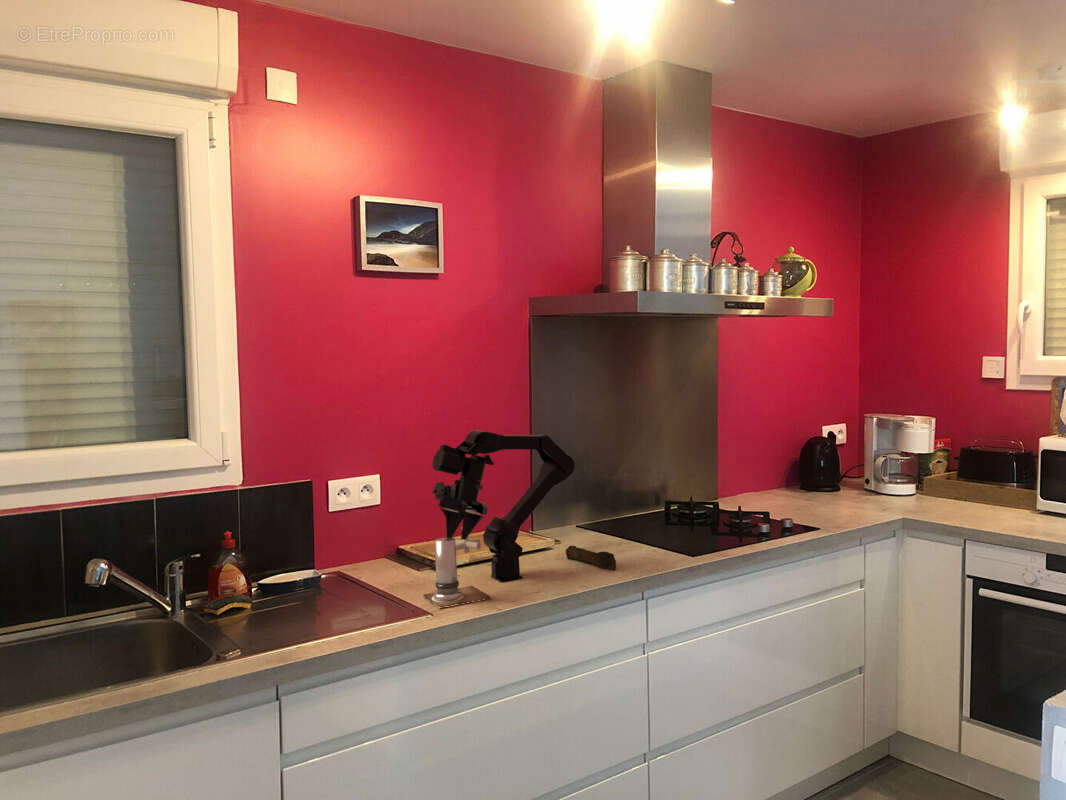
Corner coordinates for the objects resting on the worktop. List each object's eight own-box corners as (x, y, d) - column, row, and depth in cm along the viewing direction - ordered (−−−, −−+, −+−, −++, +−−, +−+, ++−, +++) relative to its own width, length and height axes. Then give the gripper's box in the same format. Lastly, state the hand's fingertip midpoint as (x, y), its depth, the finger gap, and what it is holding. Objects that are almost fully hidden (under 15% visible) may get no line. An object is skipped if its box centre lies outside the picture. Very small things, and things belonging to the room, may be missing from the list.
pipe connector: (466, 555, 251) (464, 521, 250) (491, 560, 244) (489, 525, 244) (441, 563, 243) (439, 528, 242) (467, 568, 237) (465, 532, 236)
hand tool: (565, 560, 242) (564, 544, 241) (576, 557, 244) (575, 541, 243) (607, 574, 226) (606, 556, 225) (619, 571, 228) (618, 553, 228)
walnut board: (471, 588, 217) (471, 585, 217) (490, 599, 207) (490, 595, 207) (423, 597, 211) (423, 594, 211) (439, 609, 201) (439, 605, 201)
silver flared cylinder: (445, 591, 212) (442, 535, 211) (467, 594, 208) (464, 538, 207) (427, 599, 206) (424, 541, 205) (450, 602, 203) (447, 544, 202)
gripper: (456, 475, 230) (442, 532, 229) (427, 468, 213) (412, 530, 211) (494, 484, 227) (480, 542, 225) (467, 478, 209) (452, 541, 208)
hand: (456, 539), depth 217 cm, fingers open, 9 cm apart
